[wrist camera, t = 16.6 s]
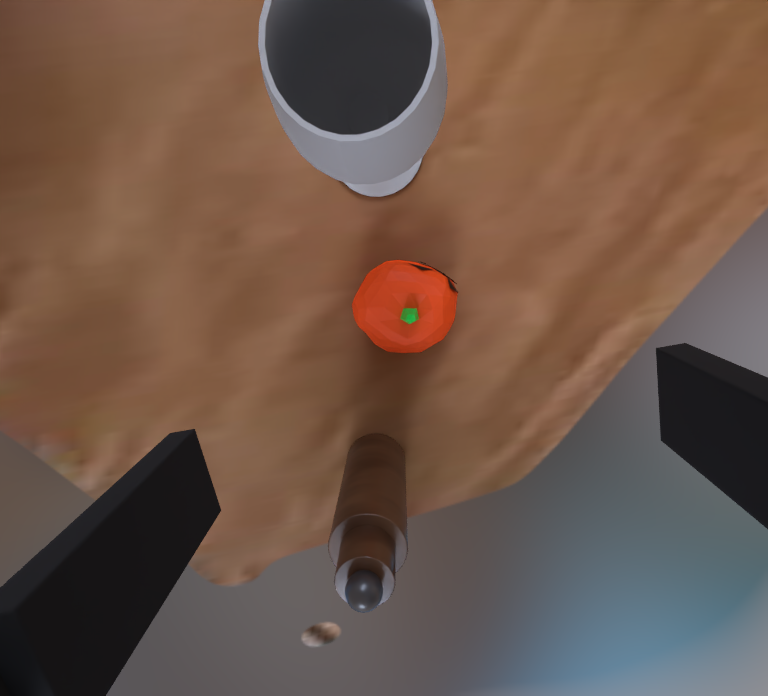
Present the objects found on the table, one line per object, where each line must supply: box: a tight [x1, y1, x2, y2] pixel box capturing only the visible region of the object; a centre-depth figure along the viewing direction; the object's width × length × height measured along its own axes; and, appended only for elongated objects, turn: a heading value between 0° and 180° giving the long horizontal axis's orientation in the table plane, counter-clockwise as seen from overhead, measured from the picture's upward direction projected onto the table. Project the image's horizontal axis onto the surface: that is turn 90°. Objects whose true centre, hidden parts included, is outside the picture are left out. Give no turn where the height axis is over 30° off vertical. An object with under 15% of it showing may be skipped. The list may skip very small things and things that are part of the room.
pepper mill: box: [328, 434, 408, 613], centre depth 34 cm, size 5×5×17 cm
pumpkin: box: [352, 260, 458, 353], centre depth 35 cm, size 7×8×6 cm
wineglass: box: [258, 0, 448, 197], centre depth 25 cm, size 8×8×21 cm
